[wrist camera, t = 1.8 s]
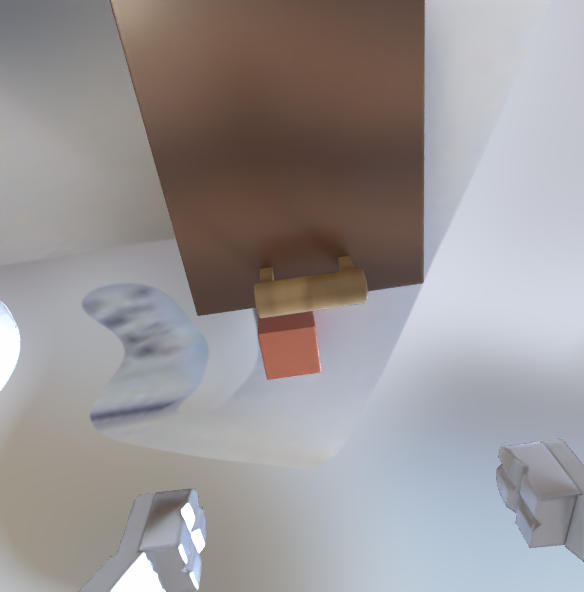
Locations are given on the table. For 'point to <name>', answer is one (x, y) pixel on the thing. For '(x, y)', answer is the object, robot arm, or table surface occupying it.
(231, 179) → the lid
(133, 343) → the table surface
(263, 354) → the block
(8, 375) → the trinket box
